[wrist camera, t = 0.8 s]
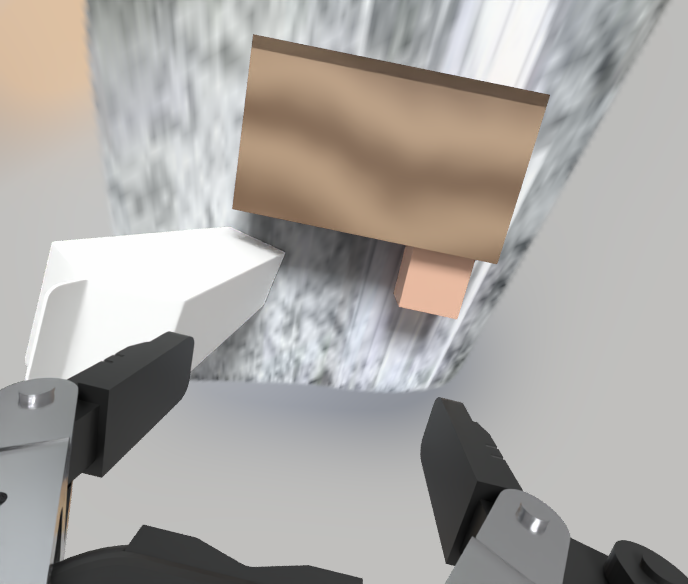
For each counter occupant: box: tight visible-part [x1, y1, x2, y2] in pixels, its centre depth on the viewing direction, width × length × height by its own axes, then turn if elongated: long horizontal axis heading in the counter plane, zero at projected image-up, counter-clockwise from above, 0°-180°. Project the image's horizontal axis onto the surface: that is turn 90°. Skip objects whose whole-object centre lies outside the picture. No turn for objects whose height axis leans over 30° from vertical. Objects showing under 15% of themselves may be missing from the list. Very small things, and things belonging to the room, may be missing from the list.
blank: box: [394, 245, 475, 319], centre depth 29 cm, size 10×5×5 cm, turn 168°
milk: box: [25, 227, 285, 380], centre depth 22 cm, size 6×6×22 cm
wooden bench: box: [232, 34, 550, 264], centre depth 27 cm, size 12×21×6 cm, turn 79°
